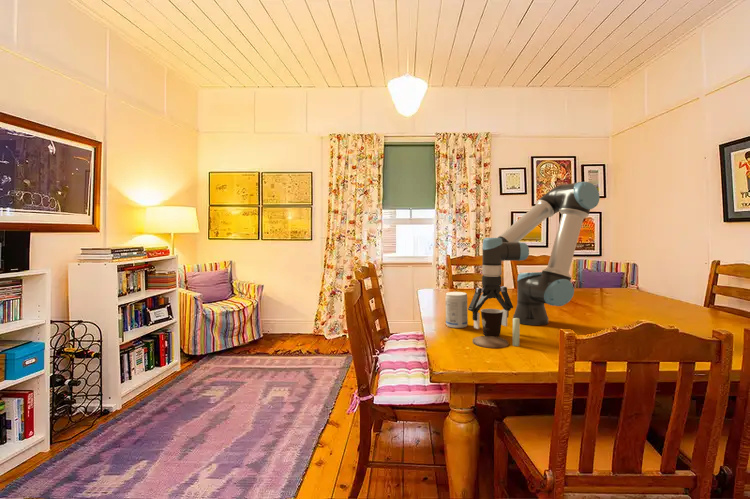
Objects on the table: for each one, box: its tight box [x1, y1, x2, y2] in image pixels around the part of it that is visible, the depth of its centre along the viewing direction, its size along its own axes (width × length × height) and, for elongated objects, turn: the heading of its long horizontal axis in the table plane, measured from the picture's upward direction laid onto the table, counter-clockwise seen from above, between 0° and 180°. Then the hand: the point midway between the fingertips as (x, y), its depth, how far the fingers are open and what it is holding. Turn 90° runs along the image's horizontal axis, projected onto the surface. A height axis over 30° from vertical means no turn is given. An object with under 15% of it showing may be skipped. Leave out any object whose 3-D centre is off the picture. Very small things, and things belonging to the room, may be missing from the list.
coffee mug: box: [480, 308, 503, 338], centre depth 158 cm, size 12×9×10 cm
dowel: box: [512, 317, 521, 347], centre depth 143 cm, size 2×2×10 cm
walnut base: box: [472, 335, 509, 349], centre depth 146 cm, size 13×13×1 cm
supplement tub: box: [445, 291, 469, 329], centre depth 172 cm, size 10×10×15 cm
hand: (490, 326), depth 158 cm, fingers open, 13 cm apart
